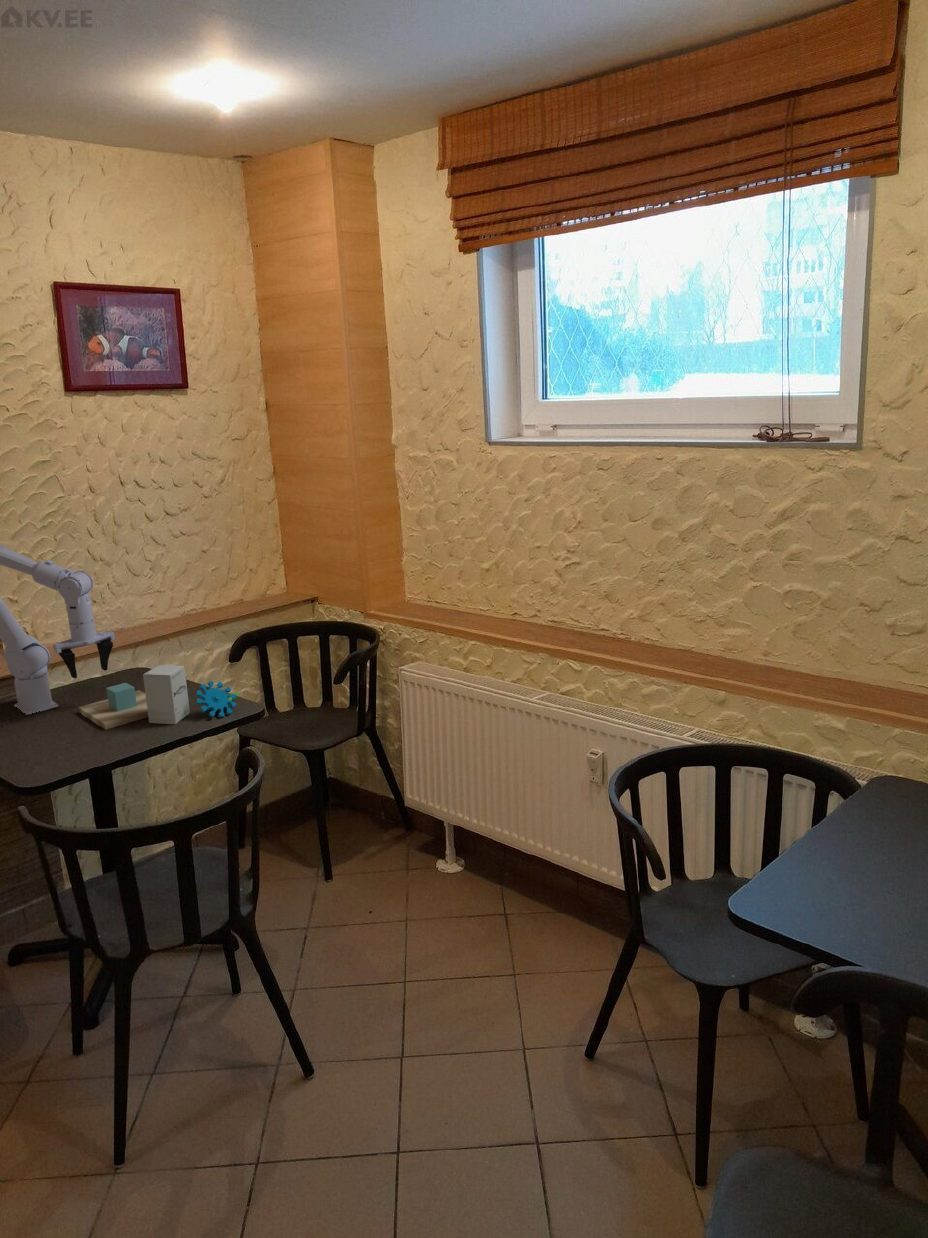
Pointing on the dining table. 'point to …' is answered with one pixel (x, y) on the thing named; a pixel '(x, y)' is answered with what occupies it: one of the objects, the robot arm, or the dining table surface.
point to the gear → (216, 699)
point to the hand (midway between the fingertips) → (89, 673)
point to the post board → (115, 712)
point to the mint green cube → (121, 697)
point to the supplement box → (166, 694)
